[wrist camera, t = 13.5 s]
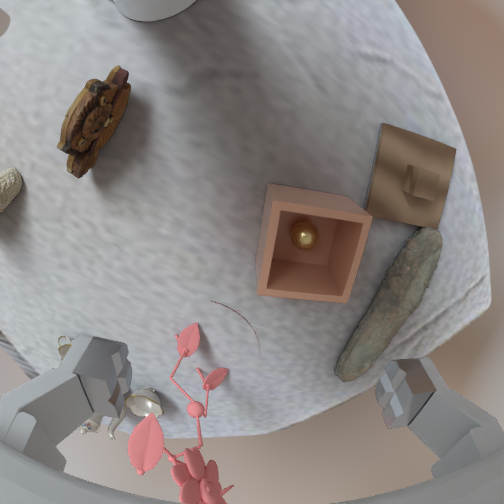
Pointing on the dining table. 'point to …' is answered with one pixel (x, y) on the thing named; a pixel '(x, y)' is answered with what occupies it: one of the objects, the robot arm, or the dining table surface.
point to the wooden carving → (93, 120)
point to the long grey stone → (392, 303)
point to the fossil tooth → (9, 186)
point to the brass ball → (304, 235)
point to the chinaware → (138, 402)
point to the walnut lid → (409, 178)
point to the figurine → (194, 470)
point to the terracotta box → (317, 258)
